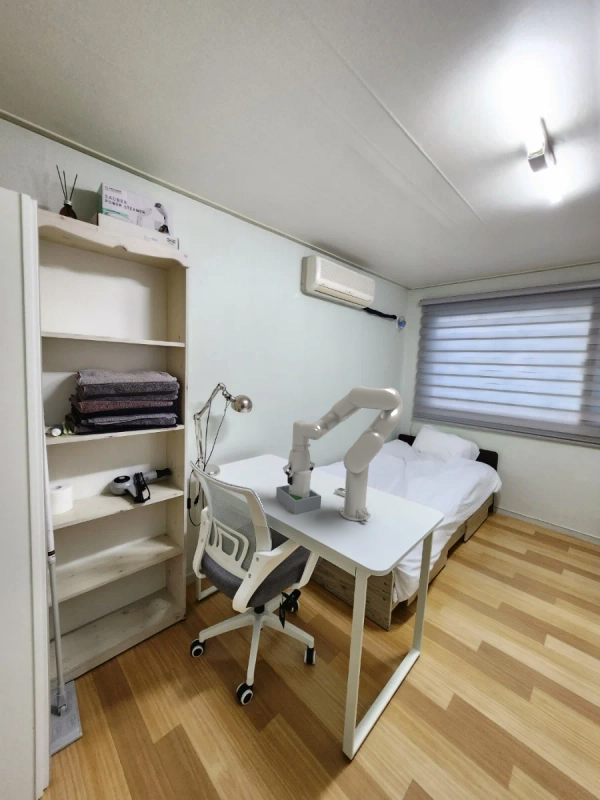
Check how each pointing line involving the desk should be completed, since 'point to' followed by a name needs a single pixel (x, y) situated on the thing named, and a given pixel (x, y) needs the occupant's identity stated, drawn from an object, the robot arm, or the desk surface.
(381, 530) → the desk surface
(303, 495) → the skincare box
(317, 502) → the tote
